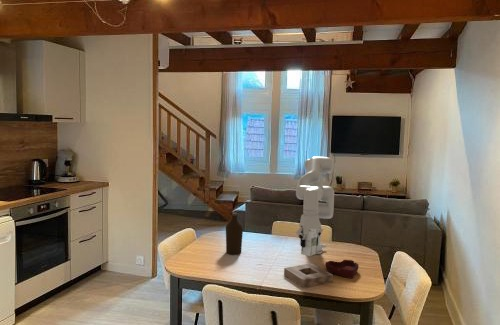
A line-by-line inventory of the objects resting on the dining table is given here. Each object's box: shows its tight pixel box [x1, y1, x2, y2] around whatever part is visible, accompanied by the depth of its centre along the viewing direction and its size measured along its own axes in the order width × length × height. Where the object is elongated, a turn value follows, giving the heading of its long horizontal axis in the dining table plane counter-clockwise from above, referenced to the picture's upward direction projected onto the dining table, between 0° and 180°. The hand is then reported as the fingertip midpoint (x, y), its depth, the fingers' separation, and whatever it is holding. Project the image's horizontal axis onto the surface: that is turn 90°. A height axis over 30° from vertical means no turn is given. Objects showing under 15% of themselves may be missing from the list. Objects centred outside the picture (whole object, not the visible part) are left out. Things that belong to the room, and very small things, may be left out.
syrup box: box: [300, 229, 317, 257], centre depth 203 cm, size 6×6×14 cm
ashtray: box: [324, 259, 359, 279], centre depth 213 cm, size 18×16×5 cm
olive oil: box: [225, 212, 244, 256], centre depth 242 cm, size 11×11×25 cm
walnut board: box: [283, 262, 334, 289], centre depth 205 cm, size 18×18×4 cm
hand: (309, 245), depth 203 cm, fingers closed on syrup box, 7 cm apart
